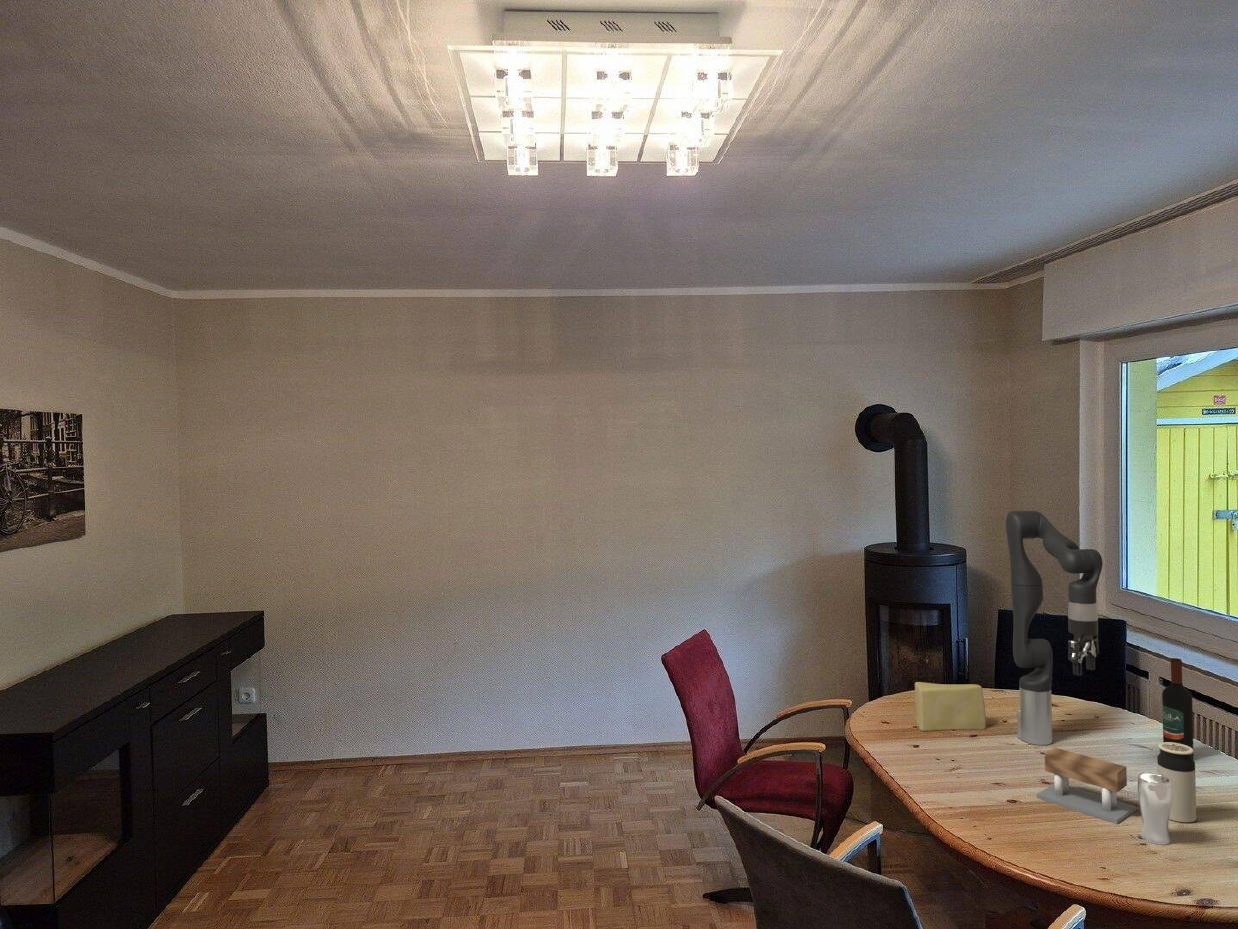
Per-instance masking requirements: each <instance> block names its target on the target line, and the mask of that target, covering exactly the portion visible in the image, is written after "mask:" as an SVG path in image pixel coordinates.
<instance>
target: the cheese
mask: <svg viewBox="0 0 1238 929" xmlns="http://www.w3.org/2000/svg"><path fill="white" fill-rule="evenodd" d="M914 700H915V701H914V703H915V706H914V707H915V708H914V709H915V723H916V725H917V727H918V728H919V730H920V731H922V732H931V731H933V732H934V731H955V730H956V731H957V730H958V731H960V730H961V731H967V730H968V731H969V730H970V731H972V730H975V731H976V730H986V727H987V724H986V722H987V721H986V704H985V698H984V691H983V687H982V686H981V685H979V684H972V683H969V684H968V683H967V684H966V683H965V684H954V683H953V684H945V683H944V684H943V683H942V684H940V683H933V682H923V681H916V682H914Z"/></svg>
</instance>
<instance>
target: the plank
mask: <svg viewBox="0 0 1238 929" xmlns="http://www.w3.org/2000/svg"><path fill="white" fill-rule="evenodd" d="M1044 771H1045V772H1048V773H1051V774H1053V775H1054V774H1057V775H1061V776H1064V777H1068V778H1069V779H1071V780H1074V781H1078V782H1082V783H1084V784H1085V783H1086V784H1089V785H1092V786H1095V787H1099V788H1101V789H1102V788H1105V789H1109V790H1112V791H1116V792H1117V793H1118V792H1120V791H1121V790H1123V789H1125V787H1127V785H1128V779H1127V777H1128V775H1127V766H1125V765H1122V764H1118V763H1114V762H1111V761H1107V760H1103V759H1099V758H1096V757H1092V756H1087V755H1084V754H1082V753H1076V752H1073V751H1070V750H1066V749H1062V748H1058V747H1053V748H1051V749H1049V750H1048V751H1047V750H1046V752H1044Z"/></svg>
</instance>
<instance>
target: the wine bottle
mask: <svg viewBox="0 0 1238 929" xmlns="http://www.w3.org/2000/svg"><path fill="white" fill-rule="evenodd" d="M1170 679H1171V680H1170V684H1169V685H1168V686H1166V687H1165V688H1163V690H1162V694H1161V703H1162V704H1161V705H1162V710H1161V711H1162V712H1161V713H1162V743H1163V742H1173V743H1179V744H1183V745H1186V746H1189V747H1191V748H1192V749H1193V750H1194V718H1193V715H1194V712H1193V709H1194V708H1193V695H1192V693H1191V692H1190V690H1188V689H1187V688H1186V687H1184V685H1183V660H1182V659H1181V658H1176V657H1174V658H1173V657H1172V658H1170ZM1194 754H1195V752H1193V753H1192V758H1194V757H1195V756H1194Z"/></svg>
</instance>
